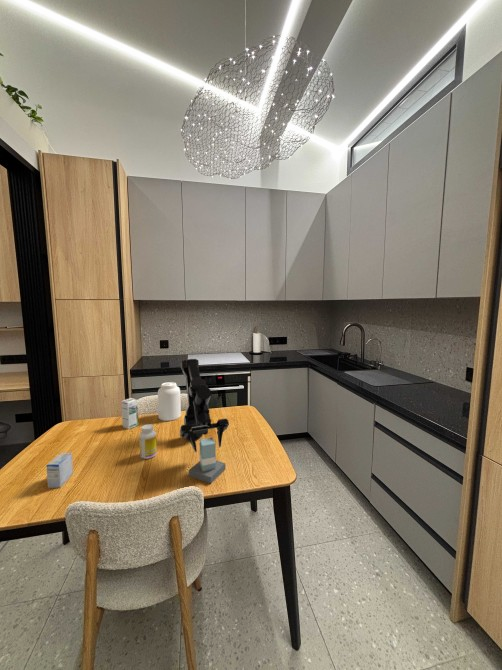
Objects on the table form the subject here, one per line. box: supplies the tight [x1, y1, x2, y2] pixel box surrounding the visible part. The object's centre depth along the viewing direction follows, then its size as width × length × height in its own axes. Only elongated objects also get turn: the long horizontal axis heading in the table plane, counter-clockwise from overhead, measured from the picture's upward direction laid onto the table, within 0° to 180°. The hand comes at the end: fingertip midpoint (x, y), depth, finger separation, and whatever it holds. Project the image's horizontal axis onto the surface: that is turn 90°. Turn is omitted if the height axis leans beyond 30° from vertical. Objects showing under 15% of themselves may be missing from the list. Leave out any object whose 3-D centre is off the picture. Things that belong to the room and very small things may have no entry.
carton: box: [199, 437, 217, 471], centre depth 104 cm, size 5×5×10 cm
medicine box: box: [46, 452, 74, 489], centre depth 99 cm, size 8×4×9 cm, turn 5°
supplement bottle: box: [138, 423, 157, 460], centre depth 116 cm, size 7×7×13 cm
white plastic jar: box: [157, 381, 182, 422], centre depth 157 cm, size 12×12×20 cm
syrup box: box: [121, 397, 139, 430], centre depth 145 cm, size 6×6×14 cm
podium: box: [188, 460, 227, 484], centre depth 105 cm, size 10×10×2 cm
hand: (208, 449), depth 103 cm, fingers open, 9 cm apart
